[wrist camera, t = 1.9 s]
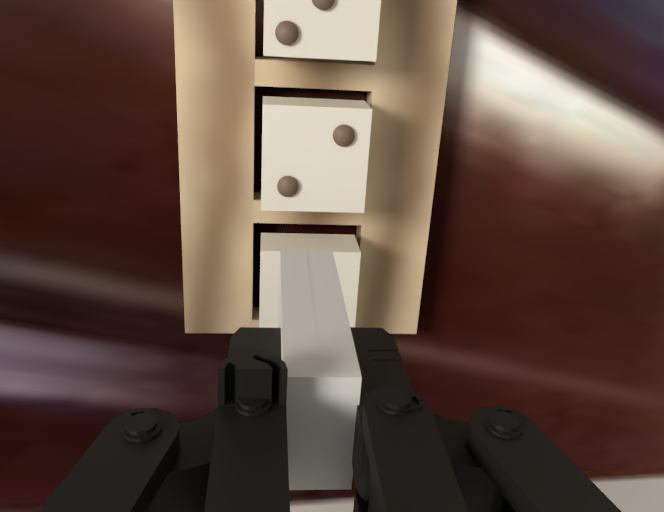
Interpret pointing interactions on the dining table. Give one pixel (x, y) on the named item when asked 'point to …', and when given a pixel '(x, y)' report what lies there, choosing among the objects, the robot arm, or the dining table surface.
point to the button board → (238, 156)
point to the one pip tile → (340, 244)
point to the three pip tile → (322, 29)
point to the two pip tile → (314, 154)
